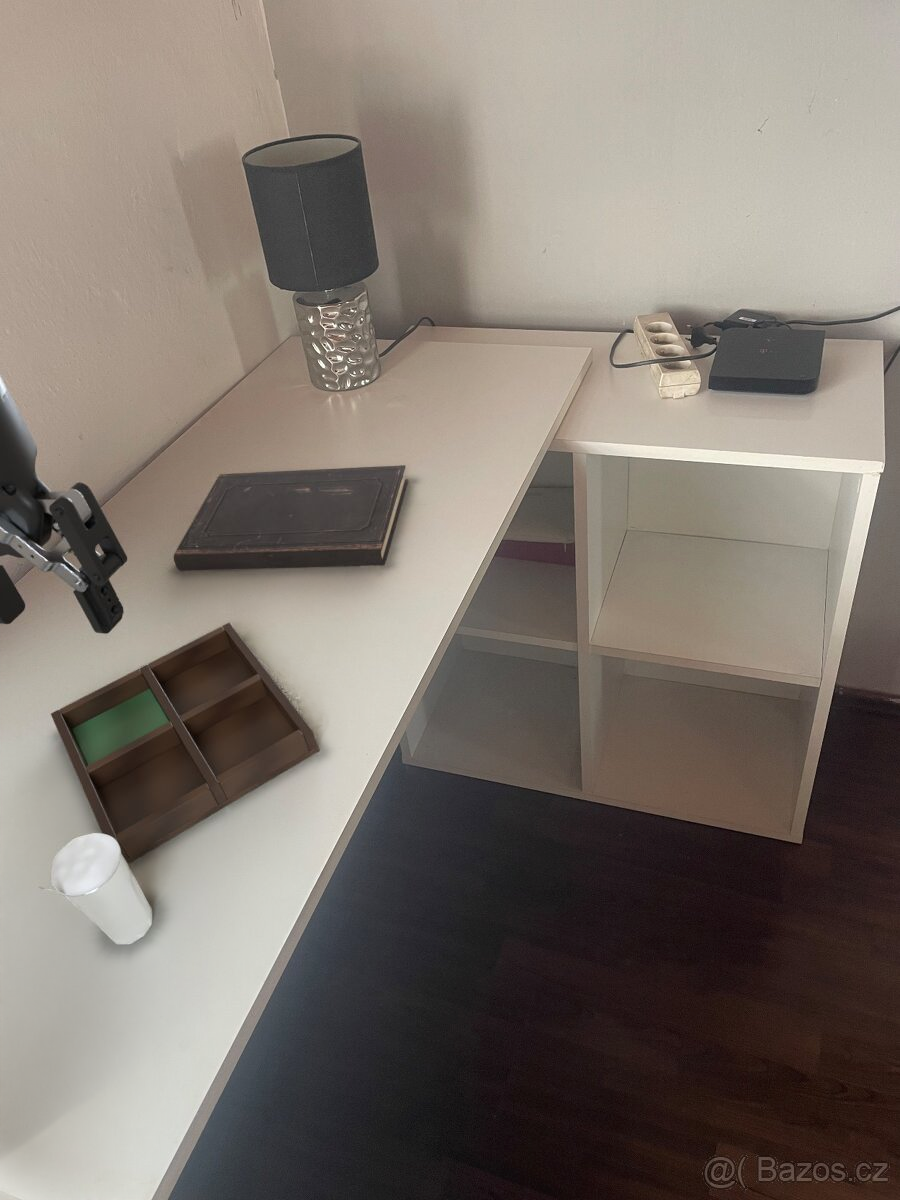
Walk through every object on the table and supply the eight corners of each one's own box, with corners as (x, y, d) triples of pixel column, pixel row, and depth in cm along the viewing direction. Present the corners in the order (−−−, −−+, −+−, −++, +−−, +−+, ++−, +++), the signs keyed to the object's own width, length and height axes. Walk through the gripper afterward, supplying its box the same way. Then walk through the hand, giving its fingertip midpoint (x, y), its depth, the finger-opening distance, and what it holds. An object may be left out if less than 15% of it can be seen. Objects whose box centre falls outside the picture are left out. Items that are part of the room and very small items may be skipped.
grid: (122, 867, 66) (108, 847, 65) (63, 733, 78) (50, 713, 76) (319, 751, 73) (312, 729, 71) (238, 642, 84) (229, 621, 82)
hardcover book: (225, 489, 106) (219, 473, 104) (408, 481, 102) (405, 464, 100) (178, 574, 94) (171, 557, 92) (384, 568, 90) (379, 551, 88)
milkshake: (79, 954, 61) (14, 878, 55) (125, 888, 65) (69, 810, 58) (129, 973, 60) (68, 898, 53) (174, 905, 63) (122, 826, 57)
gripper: (-203, 436, 49) (-55, 649, 59) (-15, 434, 44) (112, 667, 54) (-102, 379, 55) (18, 582, 64) (76, 372, 50) (176, 593, 60)
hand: (61, 621), depth 59 cm, fingers open, 8 cm apart
